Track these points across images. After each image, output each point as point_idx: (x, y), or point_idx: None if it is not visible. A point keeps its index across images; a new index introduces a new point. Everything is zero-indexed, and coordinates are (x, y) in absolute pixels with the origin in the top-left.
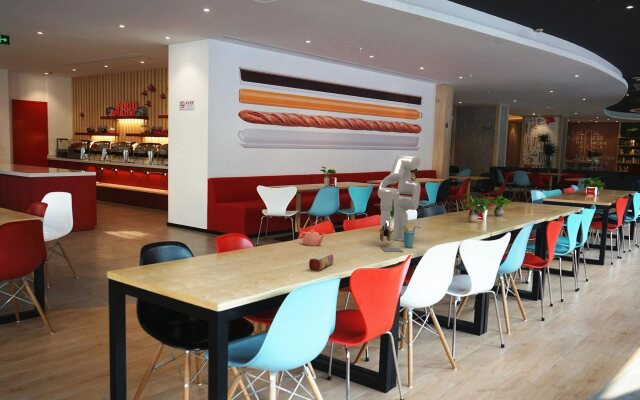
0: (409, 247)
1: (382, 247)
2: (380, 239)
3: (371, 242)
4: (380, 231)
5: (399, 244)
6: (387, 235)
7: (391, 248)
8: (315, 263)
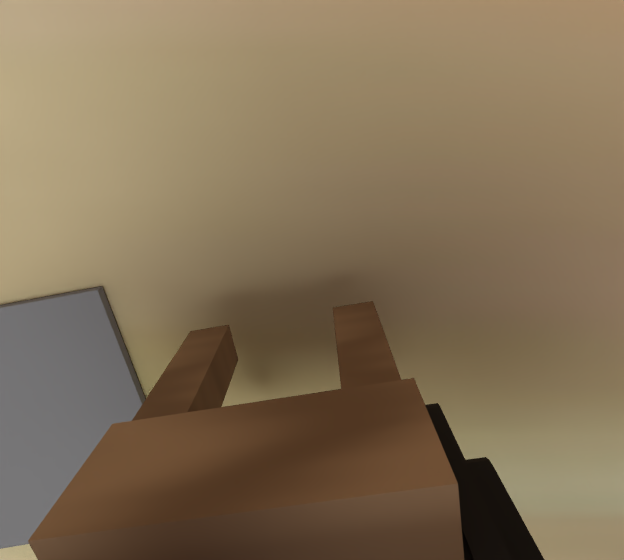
0: None
1: (100, 312)
2: (334, 314)
3: (608, 113)
4: (287, 435)
5: None
6: None
7: (89, 433)
8: None
